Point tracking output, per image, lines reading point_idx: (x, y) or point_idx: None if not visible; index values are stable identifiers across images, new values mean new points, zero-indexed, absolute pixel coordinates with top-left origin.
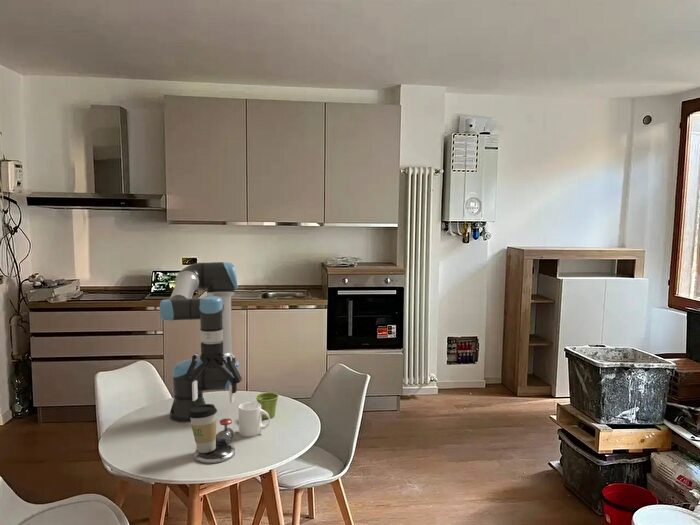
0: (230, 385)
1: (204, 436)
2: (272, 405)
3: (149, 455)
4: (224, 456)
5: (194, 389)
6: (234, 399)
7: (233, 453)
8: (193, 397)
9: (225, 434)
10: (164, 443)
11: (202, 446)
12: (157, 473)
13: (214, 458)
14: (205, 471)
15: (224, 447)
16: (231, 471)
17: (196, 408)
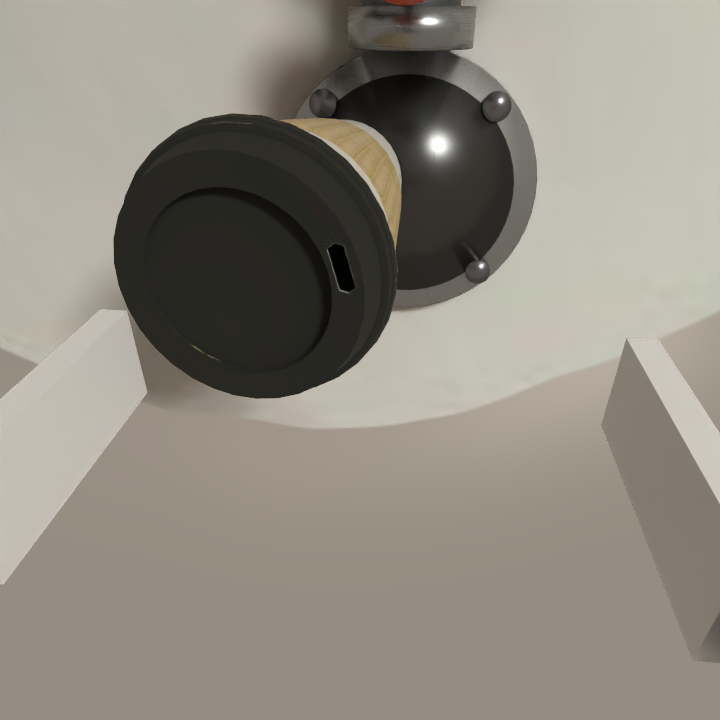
0: (714, 651)
1: (345, 289)
2: None
3: (52, 237)
4: (487, 250)
5: (66, 484)
6: (662, 348)
7: (533, 199)
8: (116, 420)
9: (437, 49)
10: (8, 63)
11: (338, 255)
12: (215, 396)
13: (436, 285)
14: (424, 369)
15: (452, 129)
16: (557, 362)
17: (167, 265)
